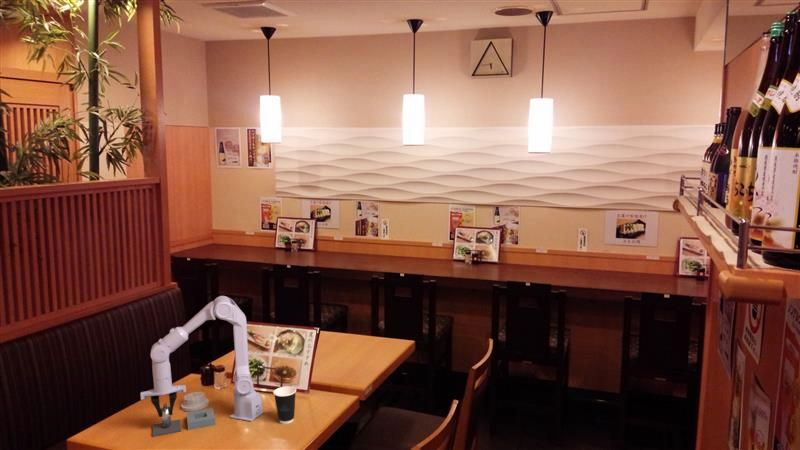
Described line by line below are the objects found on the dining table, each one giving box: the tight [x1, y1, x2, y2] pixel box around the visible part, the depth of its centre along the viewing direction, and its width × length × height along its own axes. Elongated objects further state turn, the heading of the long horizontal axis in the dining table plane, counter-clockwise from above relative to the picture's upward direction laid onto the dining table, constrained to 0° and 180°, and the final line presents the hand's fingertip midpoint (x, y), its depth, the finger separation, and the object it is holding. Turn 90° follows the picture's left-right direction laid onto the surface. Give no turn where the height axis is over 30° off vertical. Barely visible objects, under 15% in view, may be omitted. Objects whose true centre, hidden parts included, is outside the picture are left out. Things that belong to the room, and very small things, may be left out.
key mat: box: [152, 418, 182, 438], centre depth 205 cm, size 9×9×1 cm
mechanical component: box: [180, 391, 210, 412], centre depth 223 cm, size 10×4×10 cm
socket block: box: [186, 407, 216, 431], centre depth 209 cm, size 9×9×2 cm
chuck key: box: [160, 402, 172, 426], centre depth 204 cm, size 3×6×7 cm, turn 22°
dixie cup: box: [272, 386, 297, 425], centre depth 207 cm, size 8×8×11 cm
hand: (165, 414), depth 204 cm, fingers closed on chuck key, 3 cm apart
